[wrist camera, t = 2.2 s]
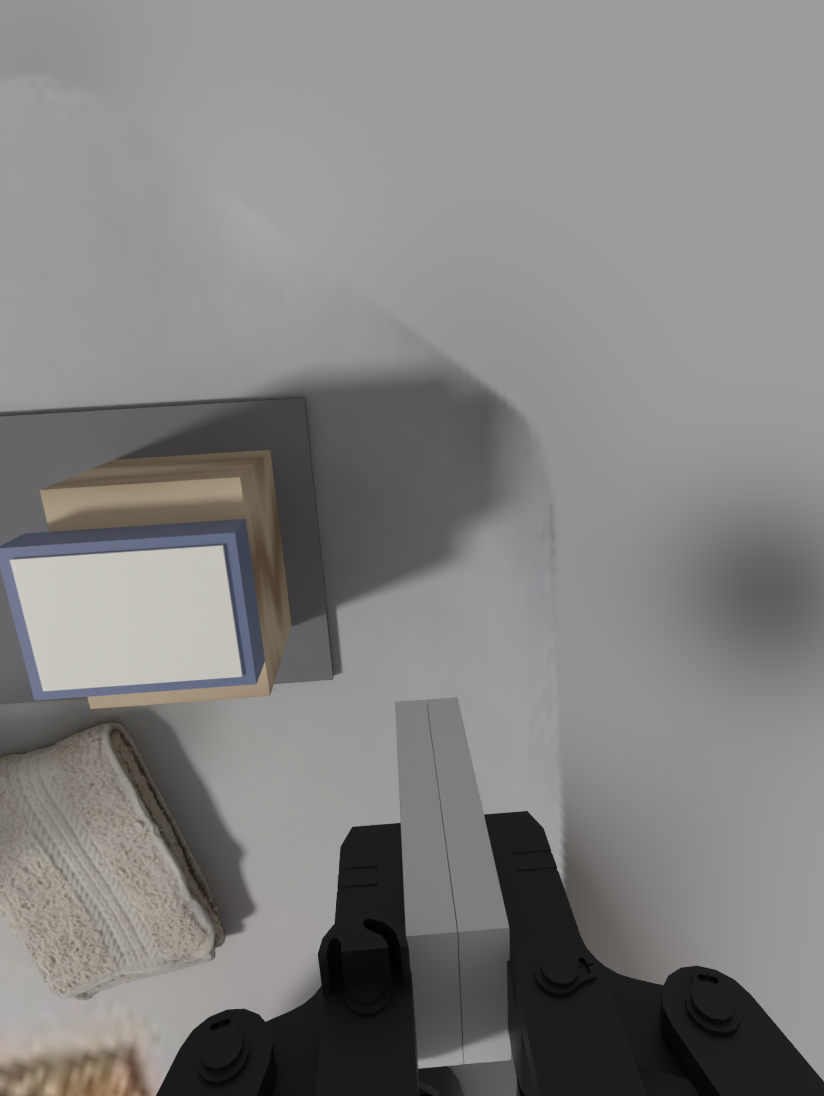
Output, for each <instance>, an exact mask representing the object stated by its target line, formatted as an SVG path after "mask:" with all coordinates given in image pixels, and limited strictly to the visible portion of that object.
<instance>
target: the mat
mask: <svg viewBox="0 0 824 1096" xmlns="http://www.w3.org/2000/svg"><path fill="white" fill-rule="evenodd" d="M260 450H270V451H271V459H272V467H273V476H274V484H275V492H276V501H277V509H278V517H279V525H280V534H281V542H282V550H283V559H284V567H285V575H286V583H287V592H288V600H289V608H290V616H291V625H292V628H291V631H290V634H289V637H288V640H287V643H286V647H285V650H284V653H283V656H282V659H281V662H280V665H279V669H278V672H277V675H276V678H275V681H274V684H280V683H293V682H307V681H320V680H333V668H332V658H331V648H330V638H329V629H328V619H327V609H326V599H325V590H324V580H323V570H322V560H321V551H320V541H319V531H318V521H317V512H316V502H315V492H314V482H313V473H312V463H311V453H310V443H309V434H308V424H307V414H306V404H305V398H292V399H275V400H258V401H242V402H225V403H209V404H192V405H175V406H159V407H142V408H126V409H109V410H92V411H76V412H59V413H43V414H26V415H9V416H0V546H1V545H3V544H5V543H7V542H9V541H11V540H13V539H15V538H17V537H19V536H21V535H23V534H25V533H40V532H49V528H48V524H47V520H46V515H45V511H44V507H43V502H42V498H41V494H40V490H41V489H43V488H46V487H48V486H51V485H53V484H56V483H58V482H60V481H63V480H65V479H68V478H70V477H73V476H75V475H78V474H80V473H83V472H85V471H88V470H90V469H93V468H95V467H97V466H100V465H102V464H105V463H107V462H110V461H112V460H117V459H133V458H149V457H165V456H180V455H196V454H212V453H228V452H244V451H260ZM78 698H88V697H78ZM64 699H77V698H64ZM64 699H51V700H64ZM37 701H50V700H37ZM37 701H35V700H34V697H33V693H32V689H31V685H30V681H29V677H28V673H27V670H26V666H25V662H24V658H23V654H22V650H21V646H20V643H19V639H18V635H17V631H16V627H15V623H14V619H13V616H12V612H11V608H10V604H9V600H8V596H7V592H6V589H5V585H4V581H3V577H2V573H1V569H0V704H10V703H23V702H37Z"/></svg>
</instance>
